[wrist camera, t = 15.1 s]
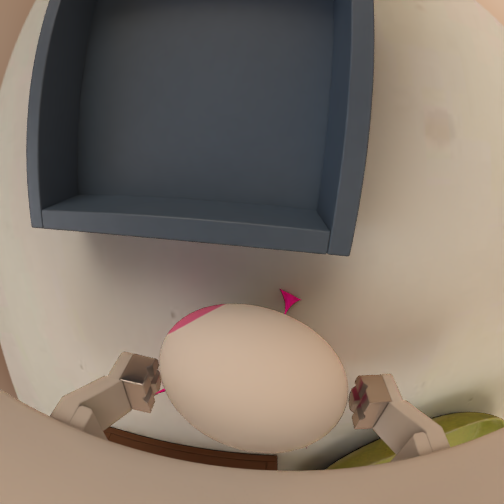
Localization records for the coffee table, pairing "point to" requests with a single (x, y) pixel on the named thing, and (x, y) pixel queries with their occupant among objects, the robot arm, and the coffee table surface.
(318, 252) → the slate tray
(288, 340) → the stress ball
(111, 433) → the walnut tray
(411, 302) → the coffee table surface
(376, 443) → the saucer
